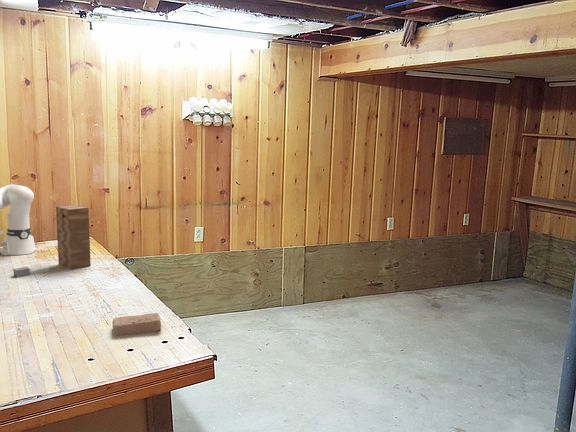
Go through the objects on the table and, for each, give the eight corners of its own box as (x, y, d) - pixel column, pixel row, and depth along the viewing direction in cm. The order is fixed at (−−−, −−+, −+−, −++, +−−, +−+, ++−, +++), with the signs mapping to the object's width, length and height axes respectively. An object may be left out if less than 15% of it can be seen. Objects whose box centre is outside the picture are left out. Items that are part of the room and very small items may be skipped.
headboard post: (58, 264, 273) (56, 206, 268) (76, 261, 281) (74, 204, 276) (72, 269, 265) (70, 209, 260) (90, 265, 272) (88, 207, 268)
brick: (113, 337, 181) (112, 324, 180) (112, 328, 189) (112, 316, 188) (161, 332, 187) (161, 319, 186) (158, 324, 194) (158, 312, 194)
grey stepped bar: (17, 277, 248) (16, 270, 248) (13, 276, 251) (13, 269, 250) (50, 271, 260) (50, 264, 260) (46, 270, 263) (46, 263, 262)
